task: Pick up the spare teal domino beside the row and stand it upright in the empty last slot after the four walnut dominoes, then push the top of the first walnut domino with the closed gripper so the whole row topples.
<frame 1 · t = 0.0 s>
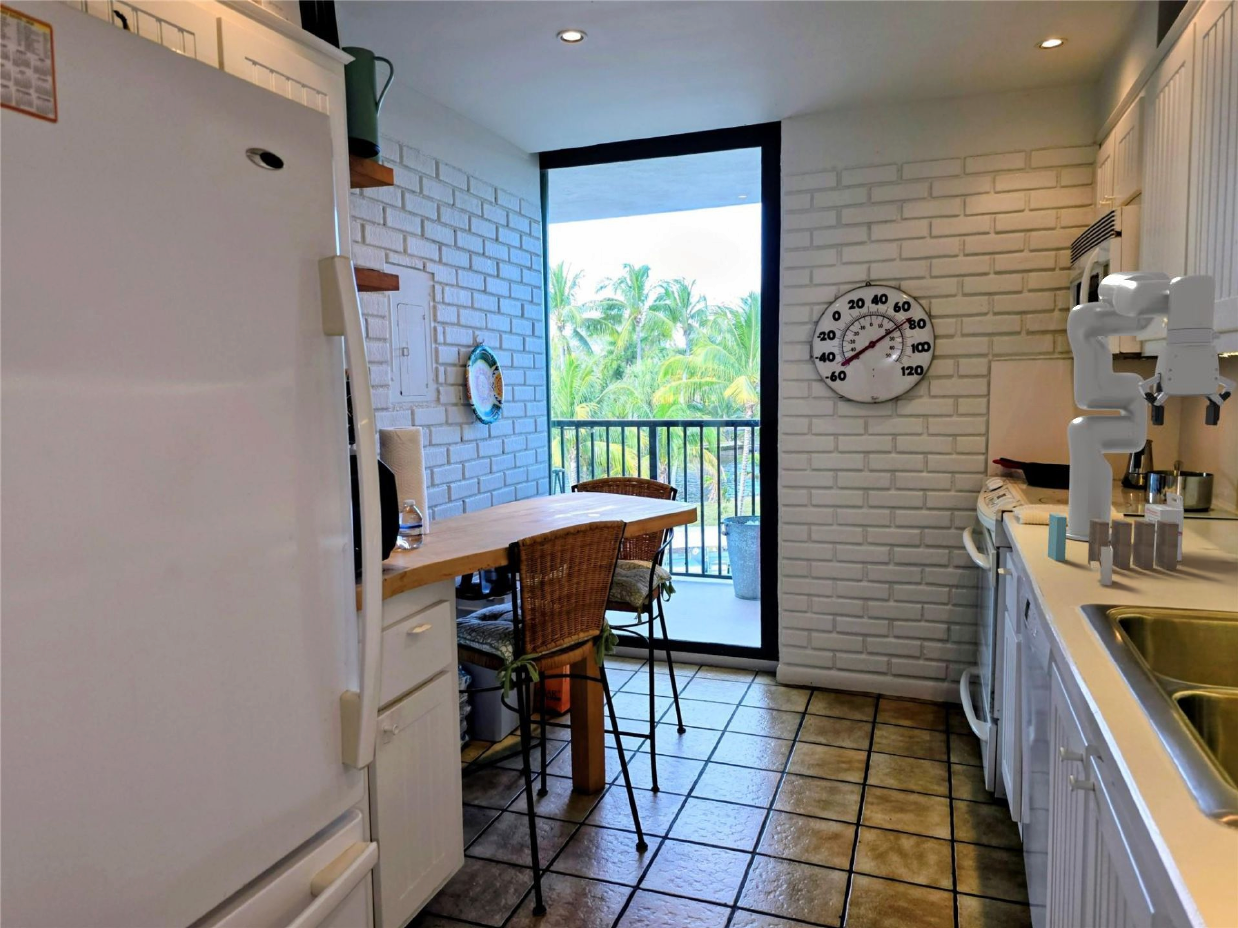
hand: (1184, 425, 161), 31 cm above the worktop, fingers open, 9 cm apart
ink cartridge box: (1161, 557, 184), on the worktop
domino 4: (1097, 566, 176), on the worktop
domino 3: (1119, 566, 175), on the worktop
domino 1: (1165, 567, 173), on the worktop
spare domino: (1056, 558, 183), on the worktop
architectural model: (1104, 585, 162), on the worktop
domino 2: (1142, 567, 174), on the worktop
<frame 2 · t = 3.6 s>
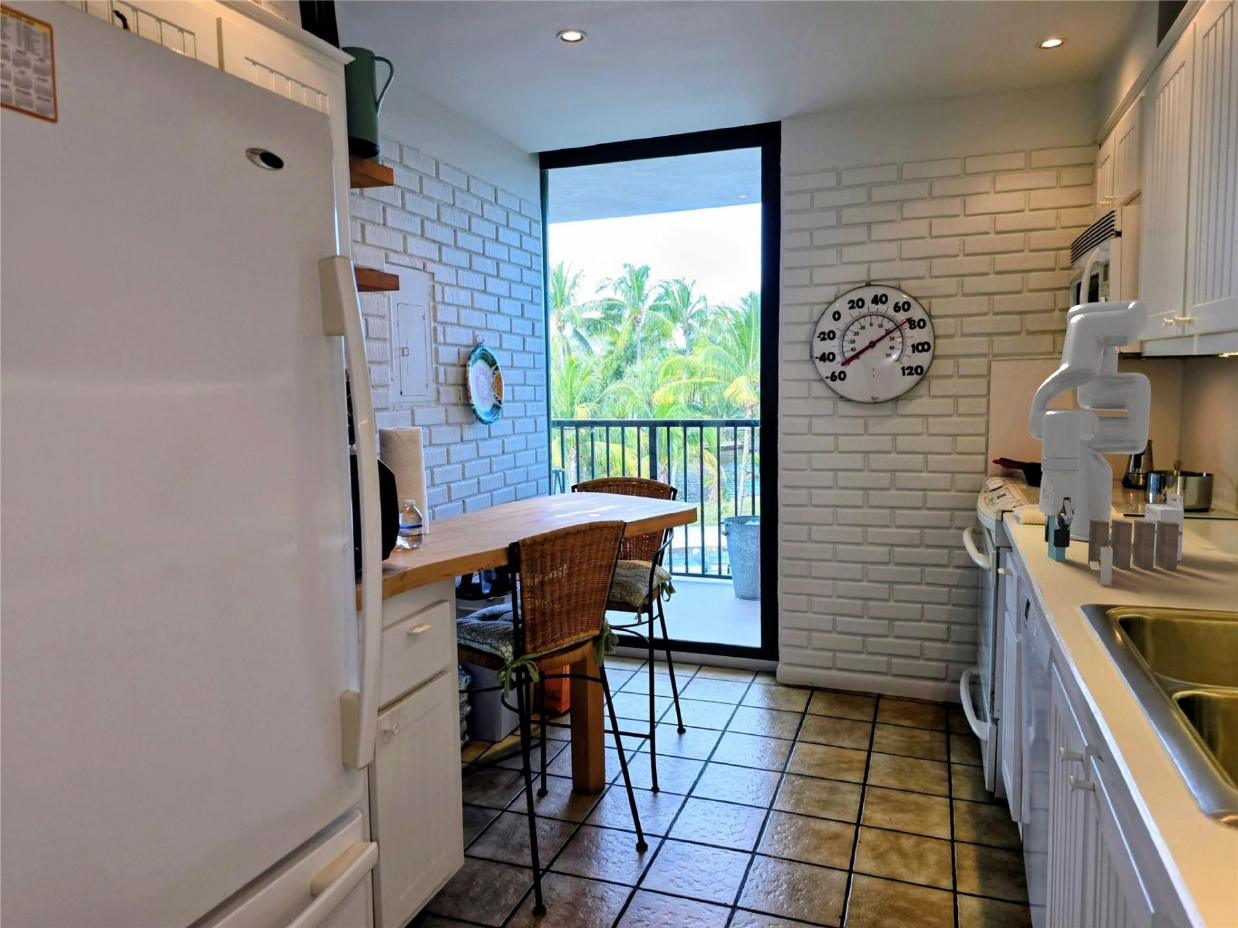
hand: (1056, 543, 183), 3 cm above the worktop, fingers closed on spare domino, 4 cm apart
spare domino: (1056, 558, 183), on the worktop, touching gripper
everything else where it was.
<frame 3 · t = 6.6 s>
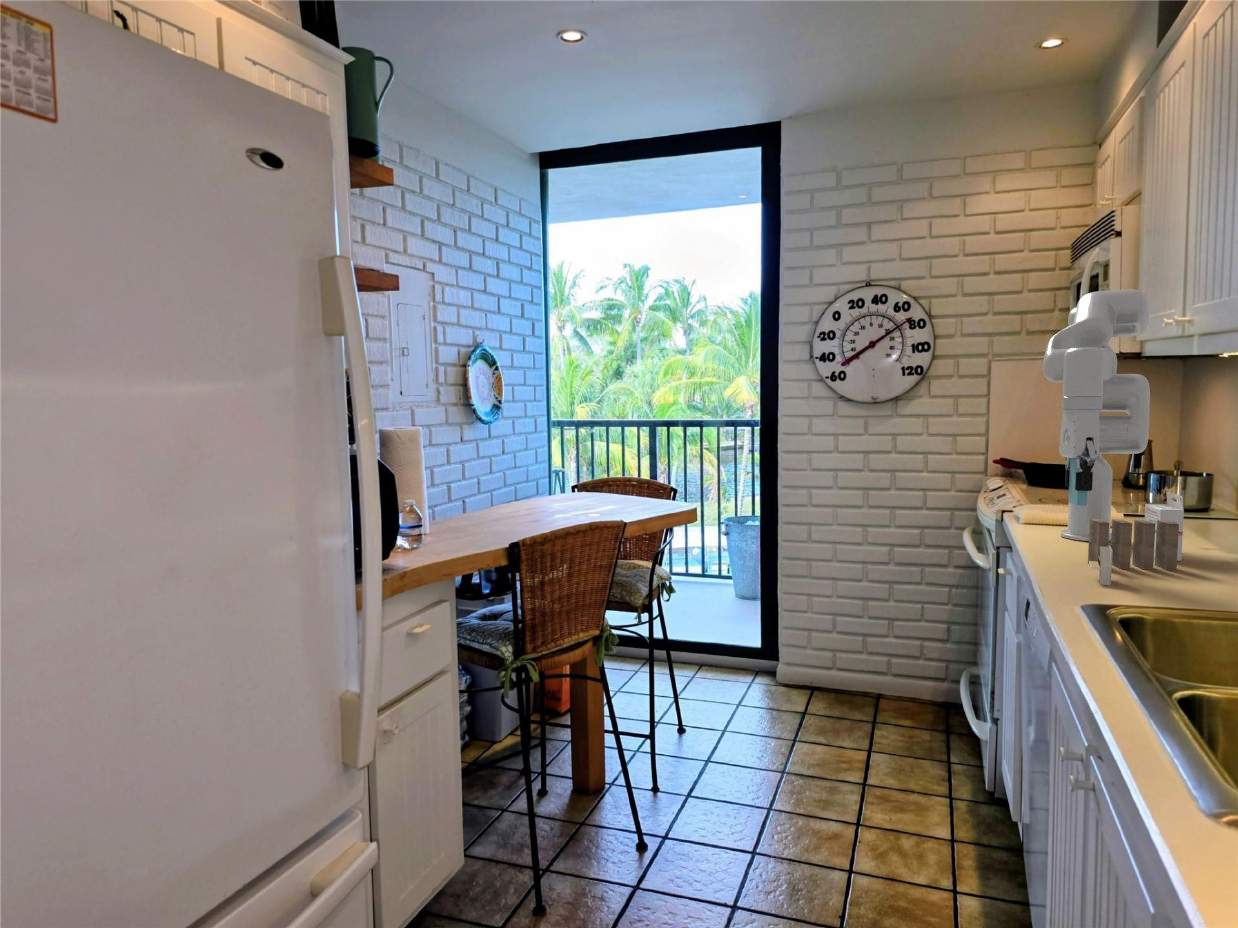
hand: (1078, 488, 175), 17 cm above the worktop, fingers closed on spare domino, 4 cm apart
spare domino: (1077, 503, 175), point 14 cm above the worktop, touching gripper
everything else where it was.
when the fingers open (4 cm above the worktop, at t = 9.7 s): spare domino stays where it is, on the worktop.
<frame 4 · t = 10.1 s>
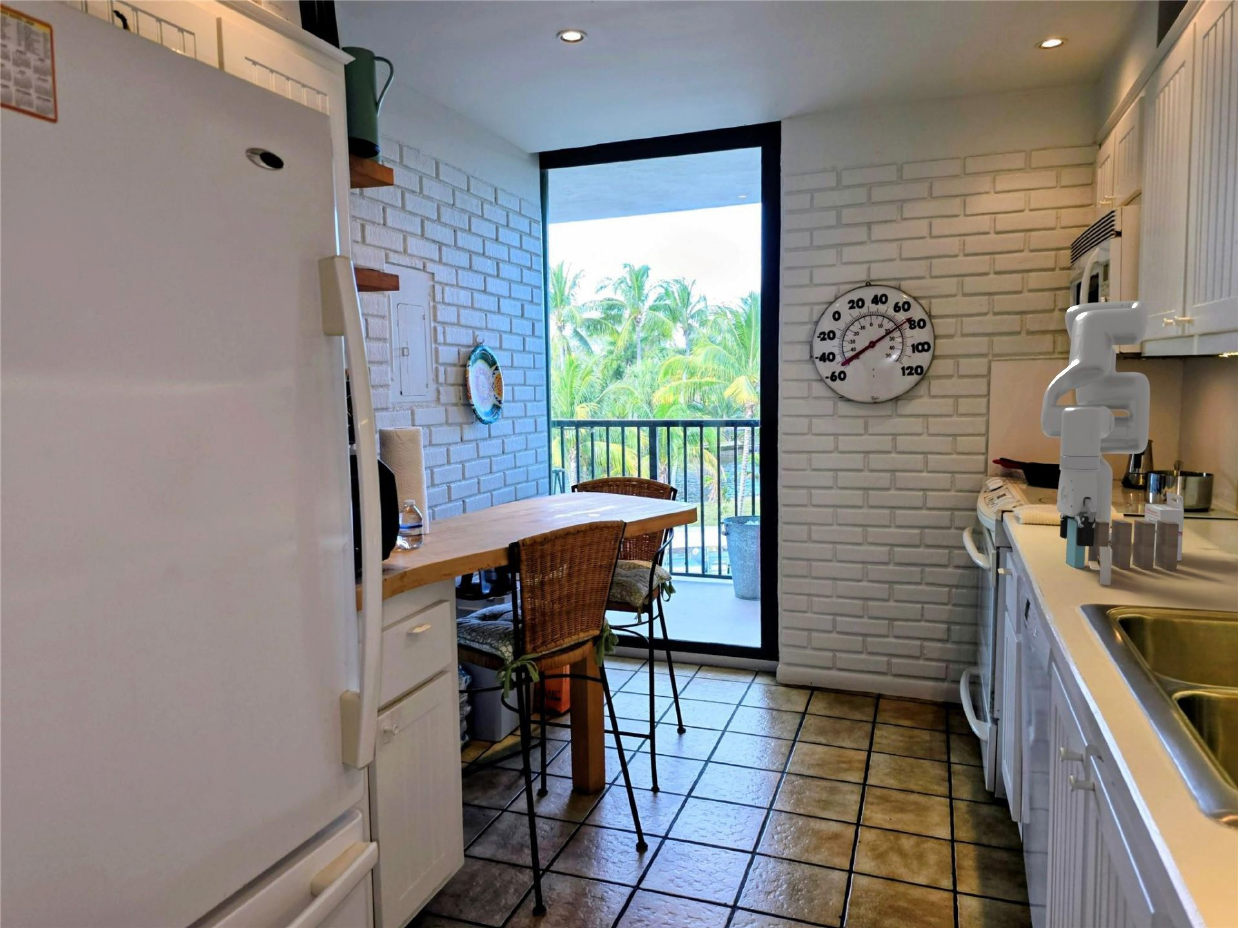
hand: (1076, 541, 176), 5 cm above the worktop, fingers open, 9 cm apart
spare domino: (1074, 565, 176), on the worktop
everything else where it was.
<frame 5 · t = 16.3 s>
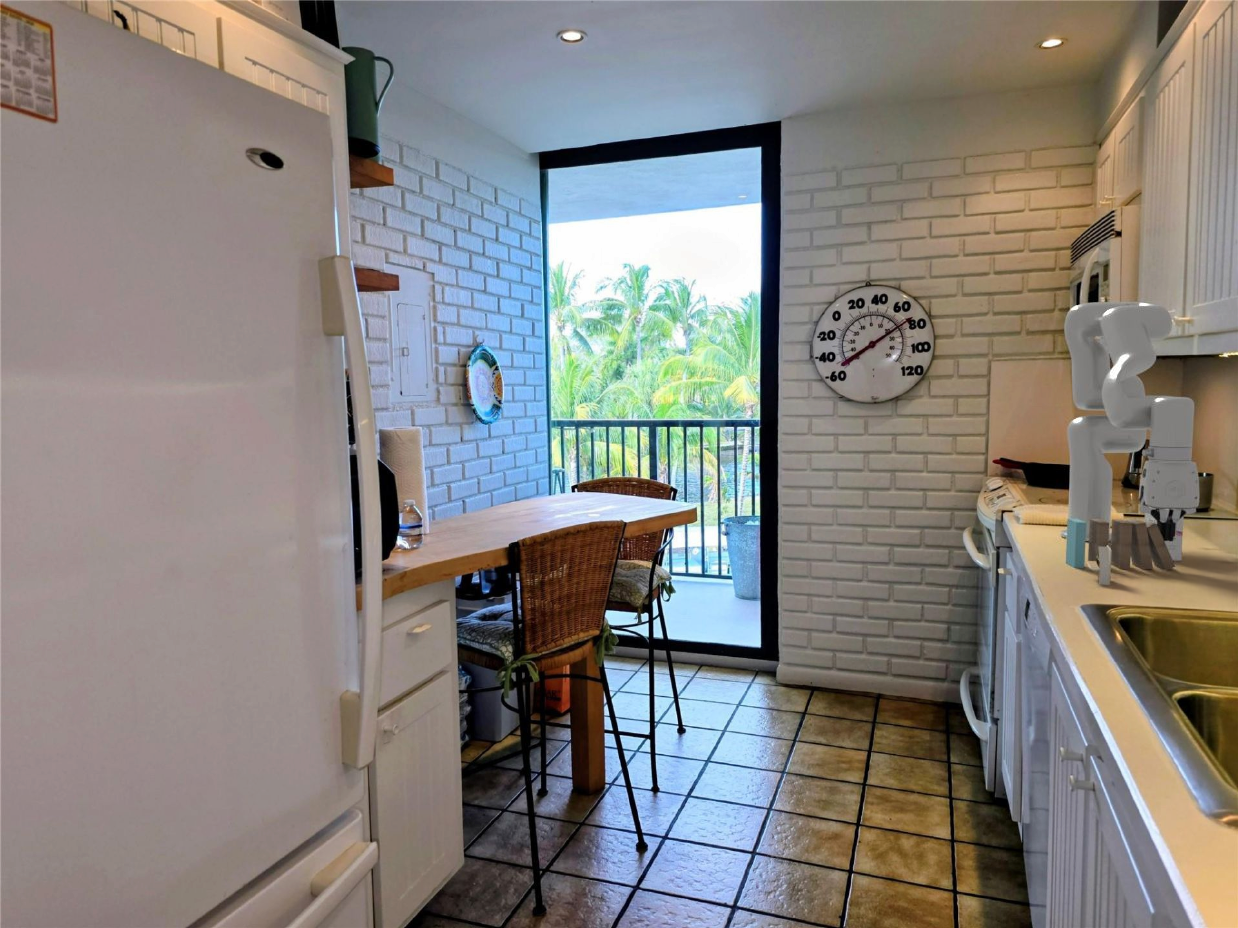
hand: (1165, 539, 173), 6 cm above the worktop, fingers closed
domino 1: (1165, 565, 173), on the worktop, tilted 24°
domino 2: (1142, 566, 174), on the worktop, tilted 10°
everything else where it was.
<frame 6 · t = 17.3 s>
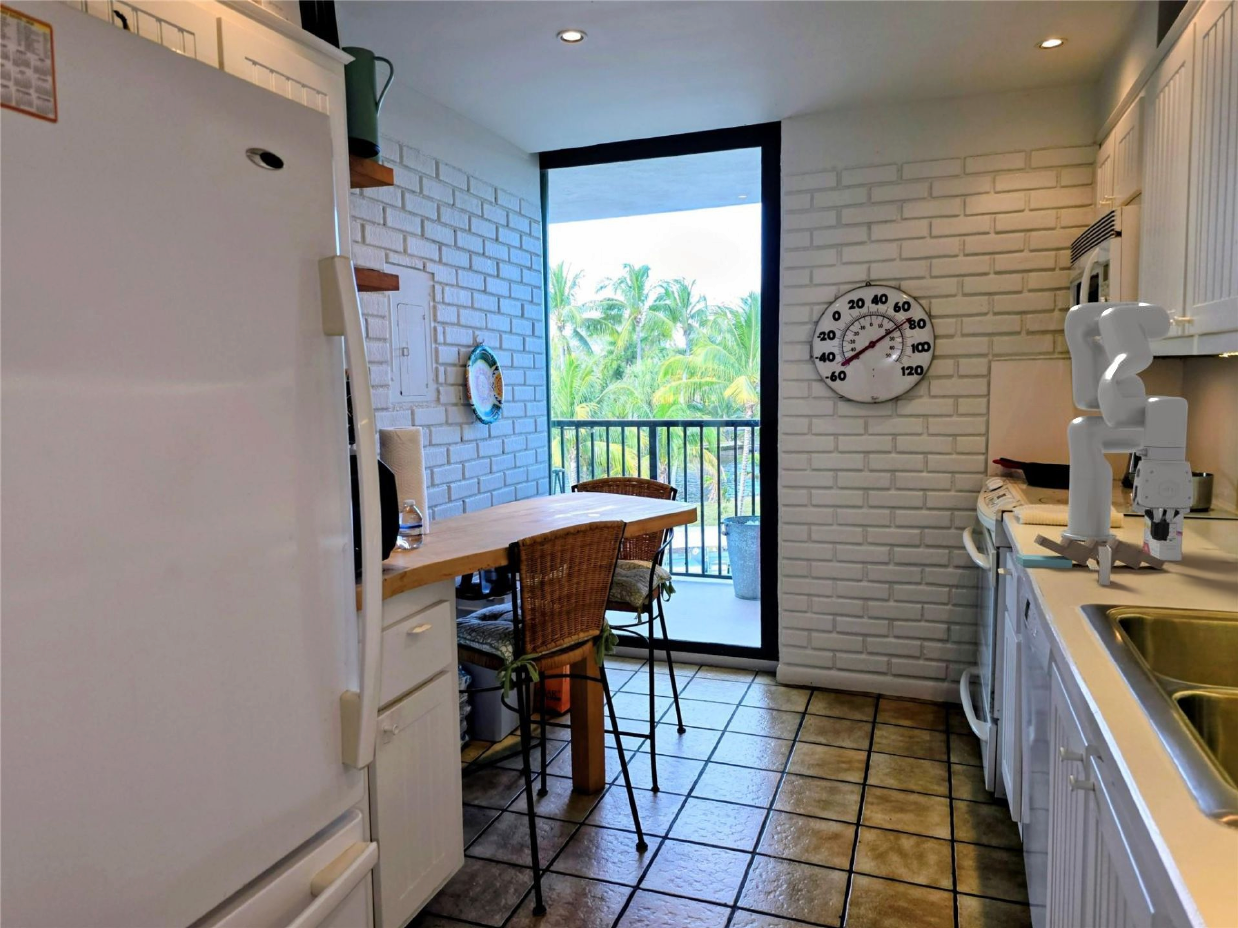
hand: (1159, 539, 173), 6 cm above the worktop, fingers closed
domino 4: (1083, 560, 176), point 1 cm above the worktop, tilted 65°, touching domino 3, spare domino
domino 3: (1110, 562, 175), point 1 cm above the worktop, tilted 65°, touching domino 2, domino 4
domino 1: (1157, 563, 173), point 1 cm above the worktop, tilted 64°, touching domino 2
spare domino: (1067, 562, 177), point 1 cm above the worktop, tilted 90°, touching domino 4
domino 2: (1134, 563, 174), point 1 cm above the worktop, tilted 65°, touching domino 1, domino 3
everything else where it was.
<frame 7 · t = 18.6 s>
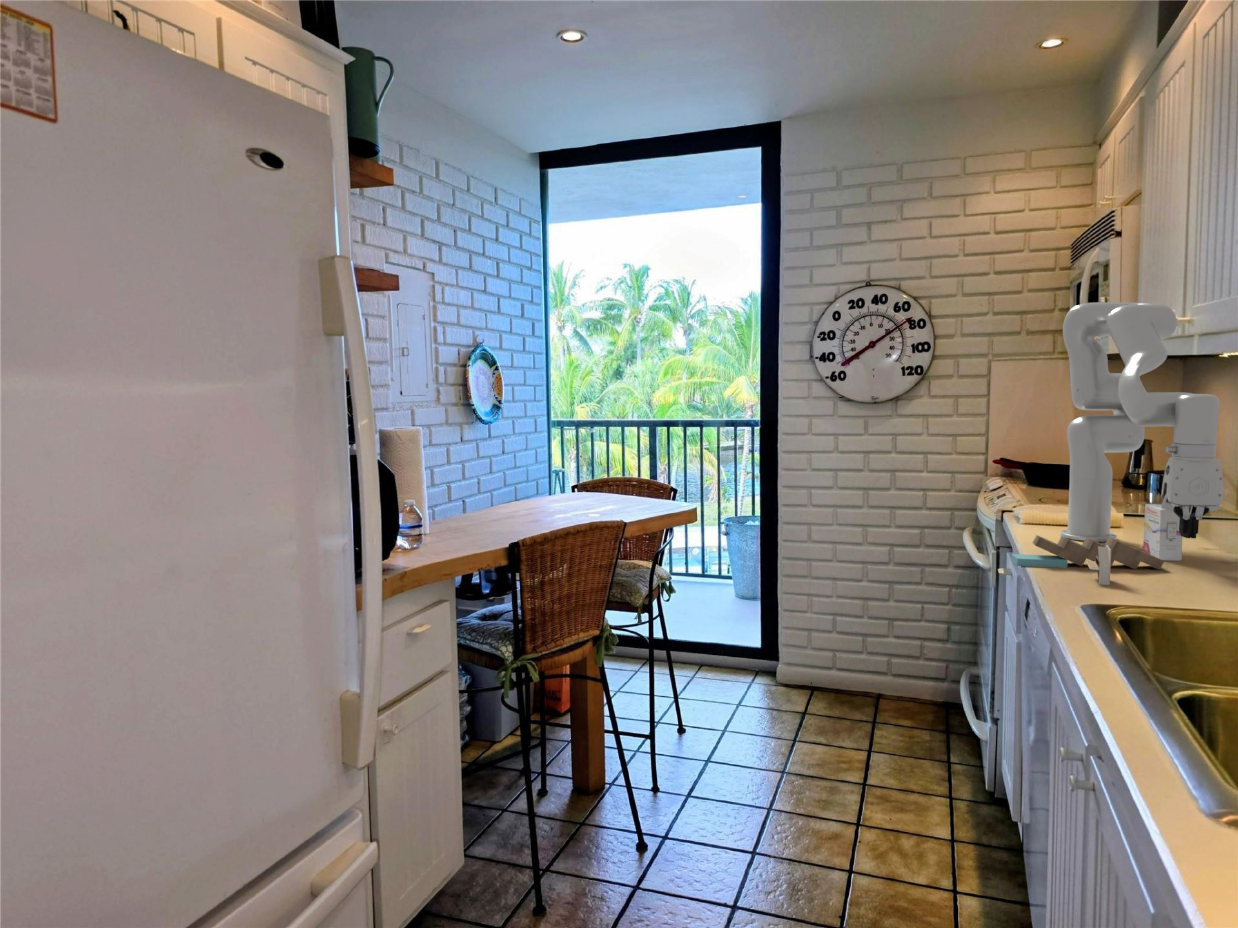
hand: (1188, 536, 173), 7 cm above the worktop, fingers closed
domino 4: (1082, 560, 176), point 1 cm above the worktop, tilted 66°, touching domino 3
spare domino: (1063, 562, 177), point 1 cm above the worktop, tilted 90°
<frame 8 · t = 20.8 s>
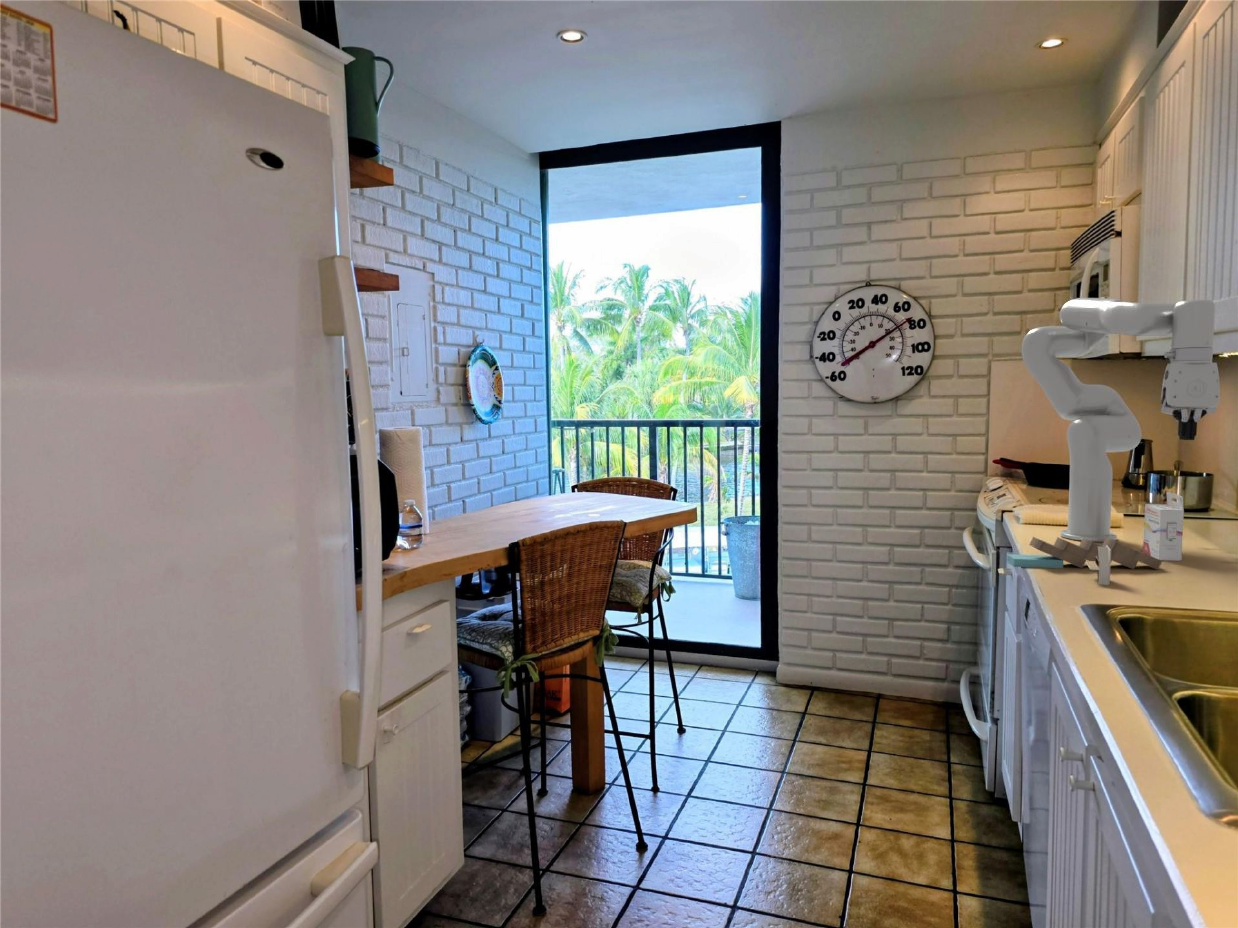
hand: (1186, 439, 179), 27 cm above the worktop, fingers closed
domino 4: (1078, 561, 176), point 1 cm above the worktop, tilted 67°, touching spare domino
domino 3: (1104, 561, 175), point 1 cm above the worktop, tilted 67°, touching domino 2
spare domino: (1059, 562, 177), point 1 cm above the worktop, tilted 90°, touching domino 4
at the end: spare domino tilted 90°; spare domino inside the target area (1.6 cm from its centre), point 0.6 cm above the worktop; domino 1 tilted 67° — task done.
